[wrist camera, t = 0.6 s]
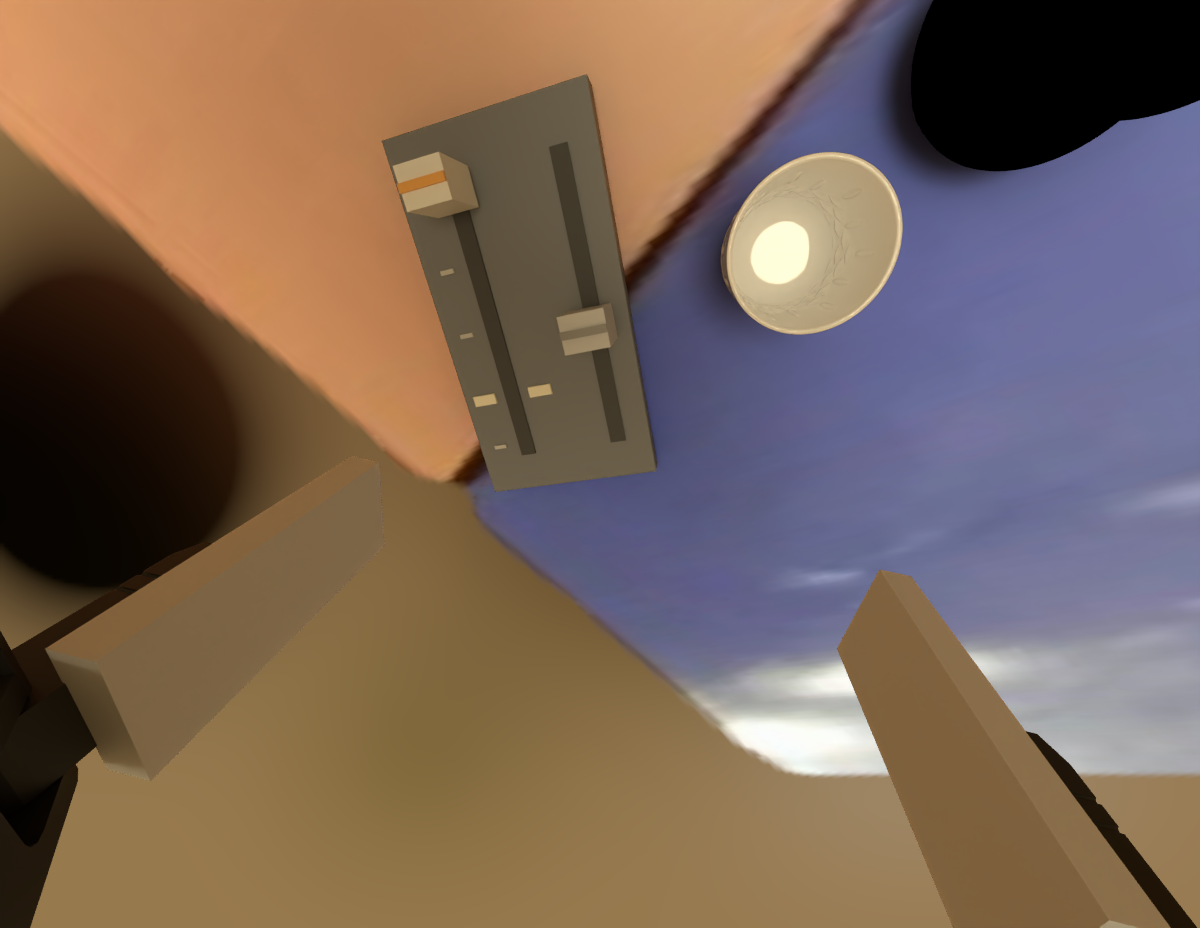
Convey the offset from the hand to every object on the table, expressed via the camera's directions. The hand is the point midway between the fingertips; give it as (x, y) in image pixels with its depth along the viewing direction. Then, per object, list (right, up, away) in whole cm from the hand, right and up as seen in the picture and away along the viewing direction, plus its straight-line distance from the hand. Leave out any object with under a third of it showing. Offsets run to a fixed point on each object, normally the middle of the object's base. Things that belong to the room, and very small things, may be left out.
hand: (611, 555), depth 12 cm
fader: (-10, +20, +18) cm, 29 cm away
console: (-5, +13, +23) cm, 27 cm away
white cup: (+11, +17, +19) cm, 28 cm away
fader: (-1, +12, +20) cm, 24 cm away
